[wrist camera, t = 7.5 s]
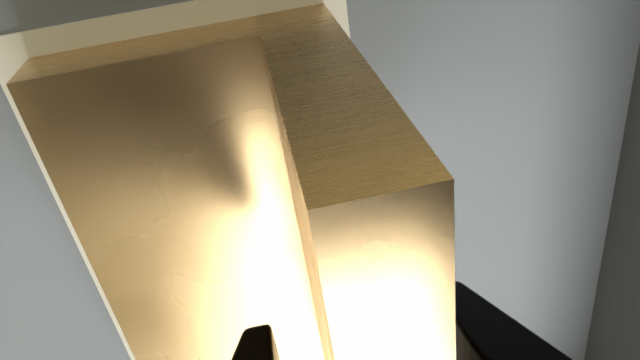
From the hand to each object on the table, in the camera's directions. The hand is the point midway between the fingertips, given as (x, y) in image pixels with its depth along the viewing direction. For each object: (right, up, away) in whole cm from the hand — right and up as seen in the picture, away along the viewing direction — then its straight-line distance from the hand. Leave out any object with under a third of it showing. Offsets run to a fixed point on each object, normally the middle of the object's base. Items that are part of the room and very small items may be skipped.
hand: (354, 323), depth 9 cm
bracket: (-2, +1, +3) cm, 4 cm away
